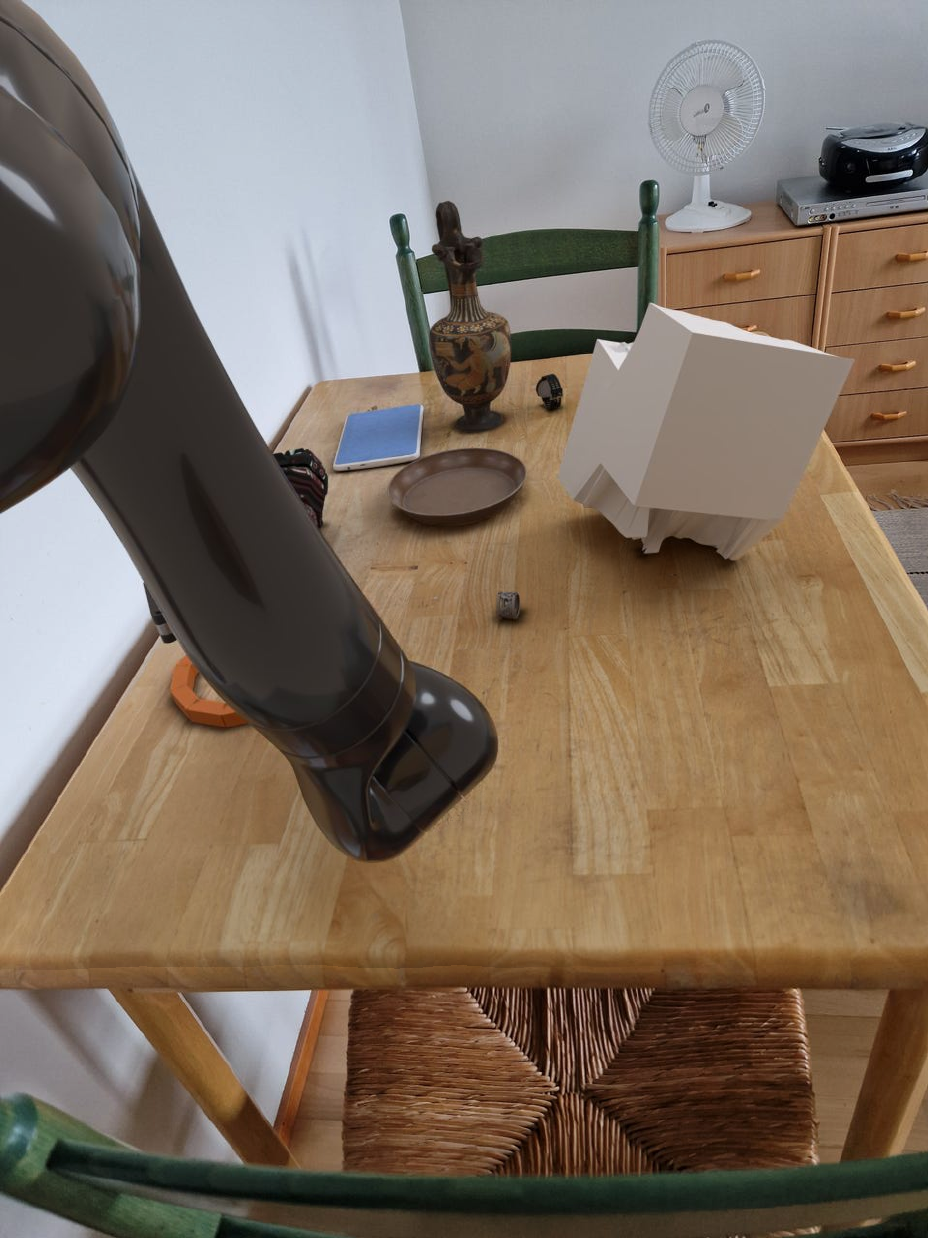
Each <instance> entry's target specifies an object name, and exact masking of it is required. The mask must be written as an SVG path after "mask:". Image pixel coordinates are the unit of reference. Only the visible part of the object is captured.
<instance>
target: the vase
mask: <svg viewBox="0 0 928 1238" xmlns="http://www.w3.org/2000/svg"><path fill="white" fill-rule="evenodd" d="M435 220H436V222H435V223H436V230H437V234H438V239H439V241H438V242H437V243H433V244H432V246H431V252H432V253H433V254H434V256H436V258H437V261H439V262H441V263H443V265H444V270H445V277H446V282H447V287H448V293H449V305H450V308H449V309H450V310H449V313H448V314H447V315H446V316H444V317H442V318H440V319H439V320H437V321H436V322H435V323H434V324H432V326H430V329H429V334H428V346H429V352H430V358H431V363H432V366H433V370H434V372H435V375H436V378H437V380H438V382H439V384H440V386H441V388H442V390H443V392H444V393H445V394H446V395H447V397H448V398H449V399H451V400H452V401H454V402H455V403H457V404H459V405H460V406H462V408H463V415H462V416H460V417H459V418H458V419H456V421H455V428H456V429H457V430H459V431H461V432H465V433H466V432H467V433H478V432H479V433H481V432H486V431H489V430H493V429H495V428H497V427H499V426H500V425H501V424H502V423H503V420H504V419H503V417H502V415H501V414H500V413H499V412H497V411H495V410H491V405H492V402H493V401H494V400H495V399H496V398H497V397H499V396H500V395H501V393H502V392H503V391H504V389H505V386H506V384H507V381H508V377H509V375H510V368H511V361H512V333H511V327H510V324H509V321H508V320H507V319H506V318H505V317H504V316H503V315H501V314H499V313H496V312H492V311H488V310H486V309H485V308H484V307H483V305H482V304H481V300H480V297H479V292H478V286H477V285H478V284H477V276H476V275H477V274H476V270H478V269H480V268H481V267H483V265H484V264H485V257H484V253H483V251H482V250H481V249H480V248H481V247H483V245H484V240H483V239H482V237H480V236H475V237H472V238H471V237H466V236H465V235H464V233H463V232H462V231H463V229H462V224H461V217H460V212H459V209H458V207H457V206H456V204H455V203H454V202H452V201H451V200H446V201H443V202H439V203H438V204H437V206H436V208H435Z"/></svg>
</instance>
